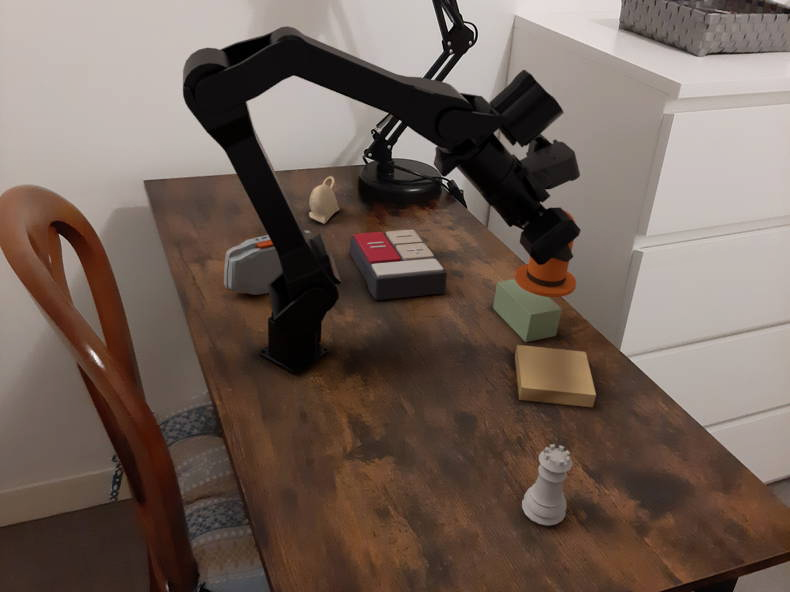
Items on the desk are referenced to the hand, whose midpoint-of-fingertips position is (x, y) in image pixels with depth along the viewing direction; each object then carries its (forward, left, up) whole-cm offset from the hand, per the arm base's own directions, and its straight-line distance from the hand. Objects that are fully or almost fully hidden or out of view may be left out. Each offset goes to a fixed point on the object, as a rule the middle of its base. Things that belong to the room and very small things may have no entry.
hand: (561, 249), depth 98 cm
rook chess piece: (-29, -15, -14) cm, 35 cm away
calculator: (0, +25, -14) cm, 29 cm away
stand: (-9, -6, -13) cm, 17 cm away
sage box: (+1, +4, -13) cm, 14 cm away
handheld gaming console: (-16, +36, -14) cm, 42 cm away
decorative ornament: (+8, +47, -11) cm, 49 cm away
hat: (-1, +1, -5) cm, 5 cm away
